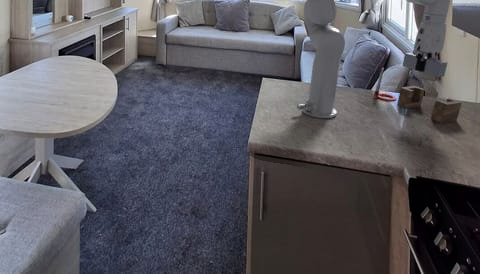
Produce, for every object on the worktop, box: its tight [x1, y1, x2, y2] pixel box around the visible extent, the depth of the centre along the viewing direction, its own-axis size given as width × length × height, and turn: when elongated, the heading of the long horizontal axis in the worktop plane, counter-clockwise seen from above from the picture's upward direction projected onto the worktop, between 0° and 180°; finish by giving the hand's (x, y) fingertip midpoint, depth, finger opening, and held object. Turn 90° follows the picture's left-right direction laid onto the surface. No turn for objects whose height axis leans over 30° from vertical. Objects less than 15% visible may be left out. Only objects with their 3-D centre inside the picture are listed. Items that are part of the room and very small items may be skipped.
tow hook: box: [373, 67, 397, 102], centre depth 168 cm, size 8×13×9 cm
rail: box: [402, 52, 448, 78], centre depth 144 cm, size 17×3×5 cm, turn 25°
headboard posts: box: [397, 85, 463, 124], centre depth 154 cm, size 22×8×8 cm, turn 26°
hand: (422, 70), depth 145 cm, fingers closed on rail, 3 cm apart
